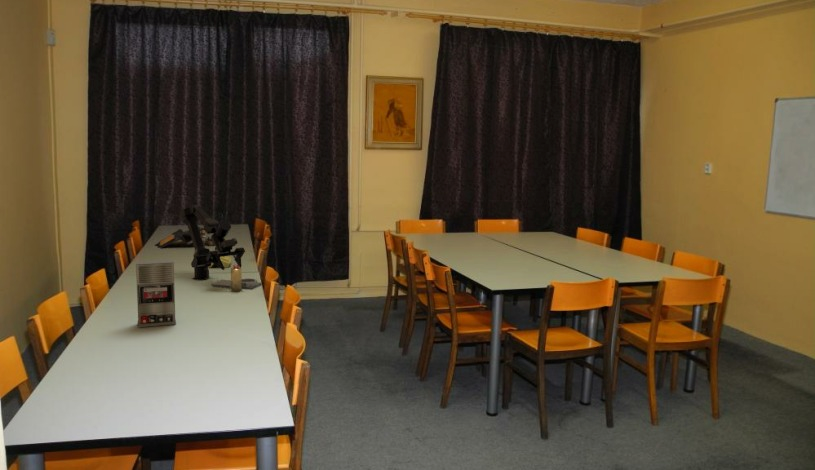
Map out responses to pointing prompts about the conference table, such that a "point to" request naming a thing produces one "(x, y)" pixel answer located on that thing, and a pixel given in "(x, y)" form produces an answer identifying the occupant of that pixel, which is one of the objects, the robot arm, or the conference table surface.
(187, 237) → the toolset
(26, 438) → the conference table surface
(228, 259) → the plastic component
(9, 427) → the conference table surface
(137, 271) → the cassette tape recorder
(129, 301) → the conference table surface
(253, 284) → the plate
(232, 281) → the tan bottle
